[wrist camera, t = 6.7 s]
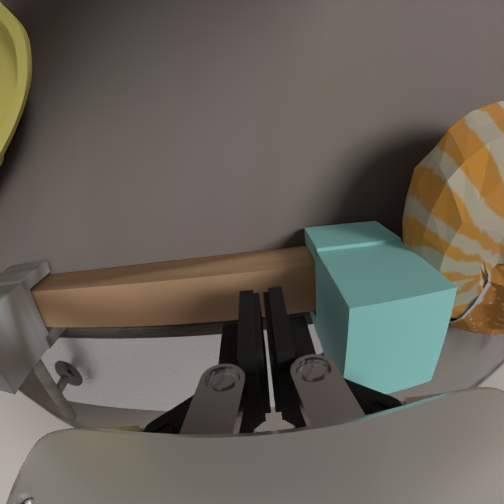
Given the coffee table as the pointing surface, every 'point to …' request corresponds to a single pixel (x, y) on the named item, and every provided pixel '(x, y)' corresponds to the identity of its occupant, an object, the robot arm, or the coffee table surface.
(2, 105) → the plastic component
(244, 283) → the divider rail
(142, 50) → the coffee table surface
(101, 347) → the bolt plate
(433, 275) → the block
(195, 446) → the robot arm
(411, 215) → the nautilus
